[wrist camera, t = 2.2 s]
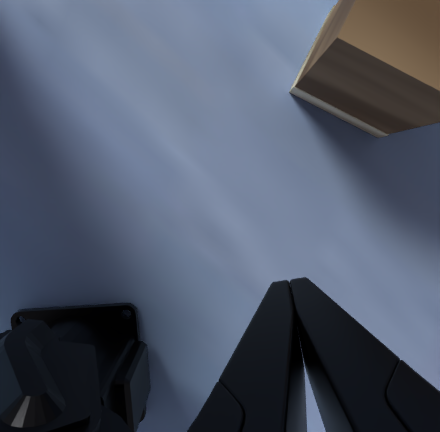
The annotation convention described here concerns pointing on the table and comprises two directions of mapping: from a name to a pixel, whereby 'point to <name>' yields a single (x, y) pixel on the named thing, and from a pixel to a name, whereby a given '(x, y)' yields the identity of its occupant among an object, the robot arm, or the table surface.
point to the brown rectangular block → (376, 65)
